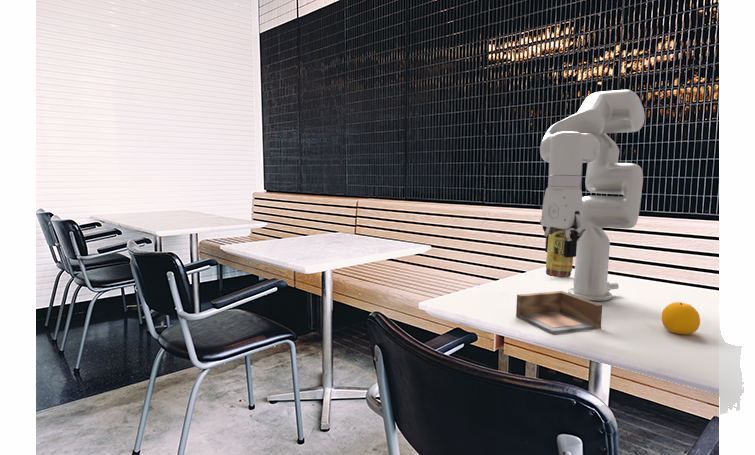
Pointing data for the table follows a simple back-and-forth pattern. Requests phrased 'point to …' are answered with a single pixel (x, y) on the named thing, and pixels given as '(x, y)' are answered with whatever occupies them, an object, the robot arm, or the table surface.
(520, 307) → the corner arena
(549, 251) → the sauce bottle
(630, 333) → the table surface
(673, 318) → the mandarin orange
